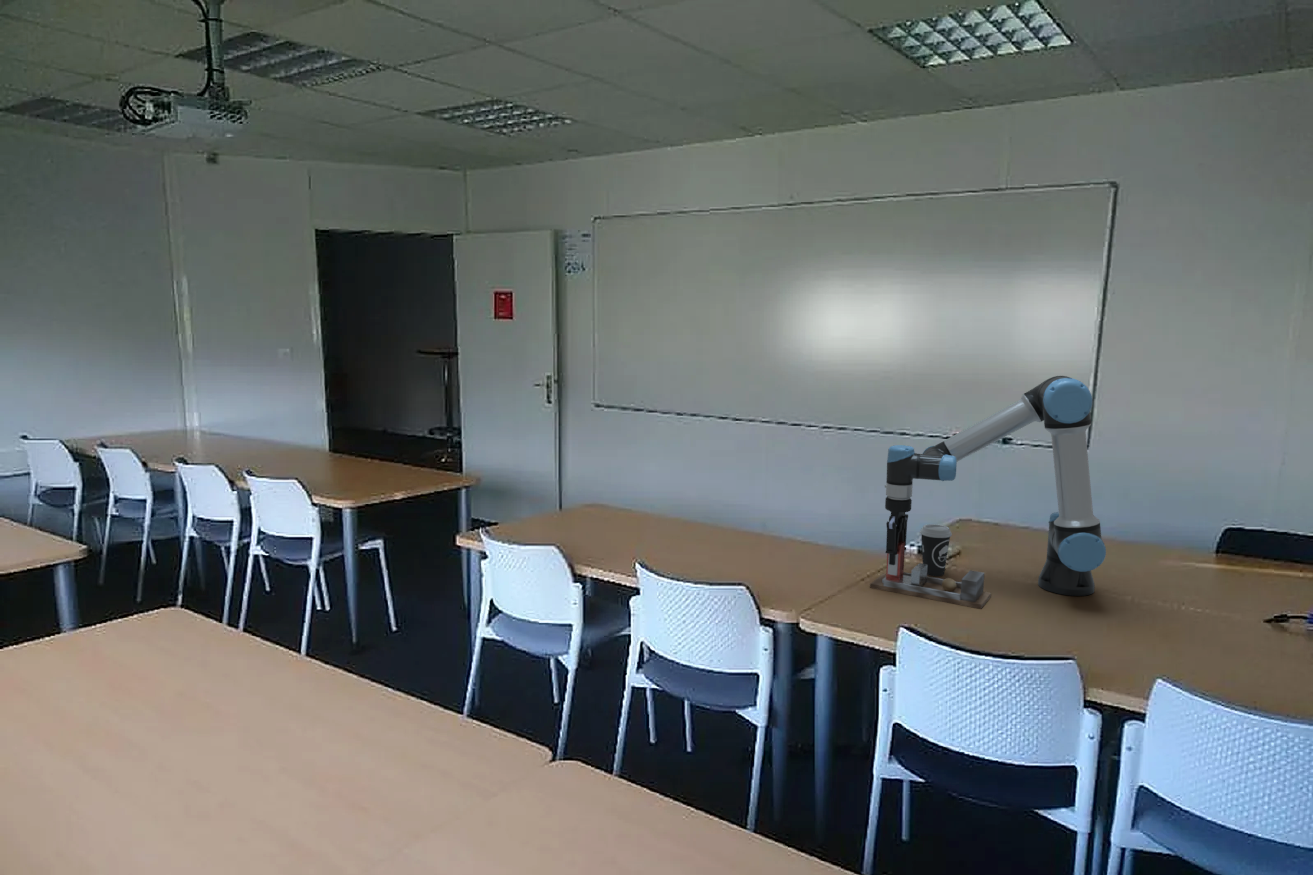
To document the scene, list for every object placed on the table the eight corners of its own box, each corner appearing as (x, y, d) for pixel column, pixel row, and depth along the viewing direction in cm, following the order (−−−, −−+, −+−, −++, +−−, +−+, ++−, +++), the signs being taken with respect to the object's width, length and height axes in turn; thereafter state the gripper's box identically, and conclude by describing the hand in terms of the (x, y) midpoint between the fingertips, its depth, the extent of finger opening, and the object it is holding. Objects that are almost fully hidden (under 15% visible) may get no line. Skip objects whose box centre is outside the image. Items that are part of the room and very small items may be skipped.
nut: (957, 591, 238) (958, 578, 238) (954, 594, 235) (954, 581, 234) (943, 588, 240) (944, 575, 240) (939, 592, 237) (940, 579, 236)
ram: (926, 582, 245) (928, 543, 243) (918, 589, 238) (920, 550, 237) (890, 575, 251) (892, 538, 249) (882, 582, 245) (883, 544, 243)
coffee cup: (945, 568, 263) (947, 523, 261) (952, 578, 253) (955, 531, 251) (915, 567, 264) (917, 523, 262) (921, 577, 254) (924, 530, 252)
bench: (990, 596, 237) (992, 573, 236) (981, 609, 227) (982, 584, 226) (883, 576, 255) (884, 554, 254) (870, 587, 245) (871, 564, 244)
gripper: (895, 490, 252) (891, 563, 255) (876, 500, 238) (873, 577, 241) (919, 493, 247) (915, 567, 251) (902, 504, 233) (898, 582, 237)
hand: (894, 572), depth 246 cm, fingers closed on ram, 4 cm apart
